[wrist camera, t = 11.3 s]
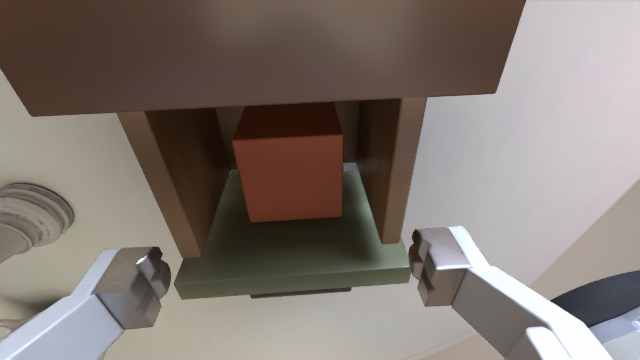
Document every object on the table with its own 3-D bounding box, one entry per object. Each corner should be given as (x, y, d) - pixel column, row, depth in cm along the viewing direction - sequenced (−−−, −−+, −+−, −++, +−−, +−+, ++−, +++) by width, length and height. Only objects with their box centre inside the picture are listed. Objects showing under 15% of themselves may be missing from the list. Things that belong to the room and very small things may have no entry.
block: (332, 95, 15) (344, 134, 12) (332, 167, 18) (342, 217, 14) (246, 99, 15) (230, 140, 11) (259, 171, 17) (249, 223, 14)
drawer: (368, 228, 22) (397, 329, 16) (231, 237, 22) (205, 345, 16) (395, -49, 13) (495, -69, 6) (150, -42, 12) (-5, -55, 6)
